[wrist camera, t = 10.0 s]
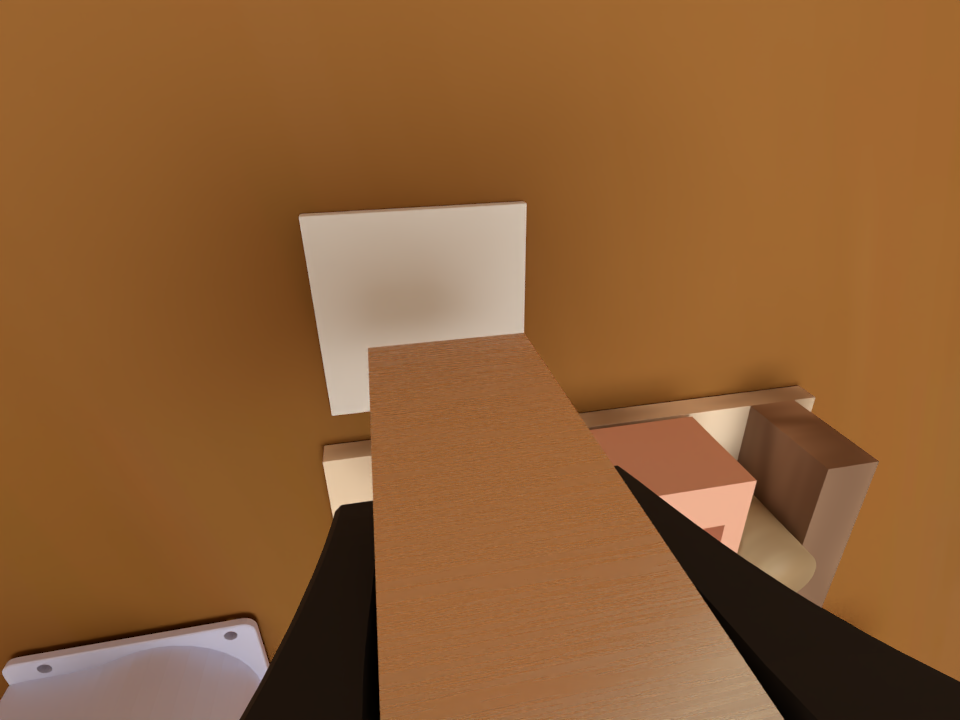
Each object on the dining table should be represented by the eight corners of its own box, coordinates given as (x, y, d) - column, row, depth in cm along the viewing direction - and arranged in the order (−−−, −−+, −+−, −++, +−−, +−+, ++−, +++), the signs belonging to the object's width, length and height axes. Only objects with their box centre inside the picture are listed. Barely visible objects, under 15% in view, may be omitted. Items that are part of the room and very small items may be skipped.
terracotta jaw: (540, 584, 24) (571, 668, 21) (547, 435, 21) (585, 507, 17) (664, 562, 25) (714, 638, 22) (692, 416, 22) (756, 480, 18)
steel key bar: (383, 476, 14) (416, 998, 6) (367, 347, 12) (383, 831, 4) (521, 457, 14) (719, 910, 6) (524, 332, 13) (792, 732, 5)
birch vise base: (351, 594, 24) (349, 738, 19) (324, 445, 20) (312, 571, 15) (758, 524, 27) (854, 629, 22) (798, 385, 24) (924, 471, 18)
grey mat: (332, 410, 20) (331, 416, 19) (299, 213, 17) (298, 216, 16) (519, 388, 21) (522, 393, 20) (523, 201, 18) (526, 203, 17)
